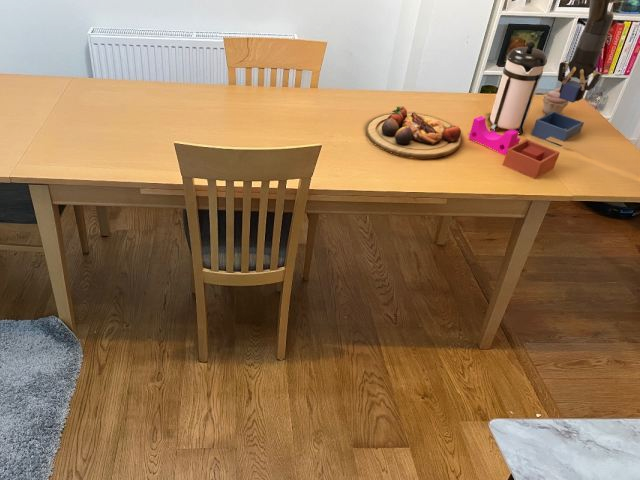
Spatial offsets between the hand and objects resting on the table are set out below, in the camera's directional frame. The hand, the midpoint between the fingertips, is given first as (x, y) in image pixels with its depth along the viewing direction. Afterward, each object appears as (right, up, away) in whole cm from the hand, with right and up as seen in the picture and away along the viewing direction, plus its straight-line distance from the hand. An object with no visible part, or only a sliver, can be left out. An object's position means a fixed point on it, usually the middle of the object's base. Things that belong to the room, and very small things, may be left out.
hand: (569, 97), depth 198 cm
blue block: (0, 0, 0) cm, 0 cm away
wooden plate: (-52, -13, +6) cm, 54 cm away
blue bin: (0, -11, +10) cm, 14 cm away
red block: (-18, -25, -8) cm, 31 cm away
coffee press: (-16, -5, +15) cm, 23 cm away
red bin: (-18, -25, -8) cm, 32 cm away
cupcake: (+6, +2, +25) cm, 26 cm away
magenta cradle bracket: (-25, -15, +3) cm, 30 cm away
